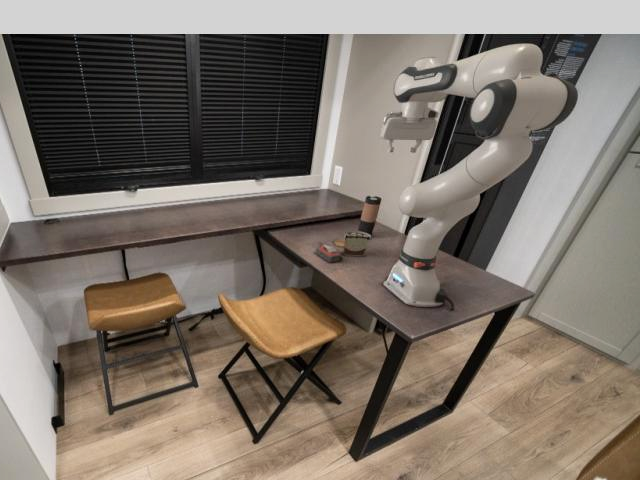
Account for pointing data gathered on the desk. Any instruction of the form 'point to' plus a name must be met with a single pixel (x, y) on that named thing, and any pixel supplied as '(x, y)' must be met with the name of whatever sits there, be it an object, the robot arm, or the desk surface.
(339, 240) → the cork coaster
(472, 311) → the desk surface
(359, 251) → the food container
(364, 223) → the travel mug
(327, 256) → the walkie-talkie
